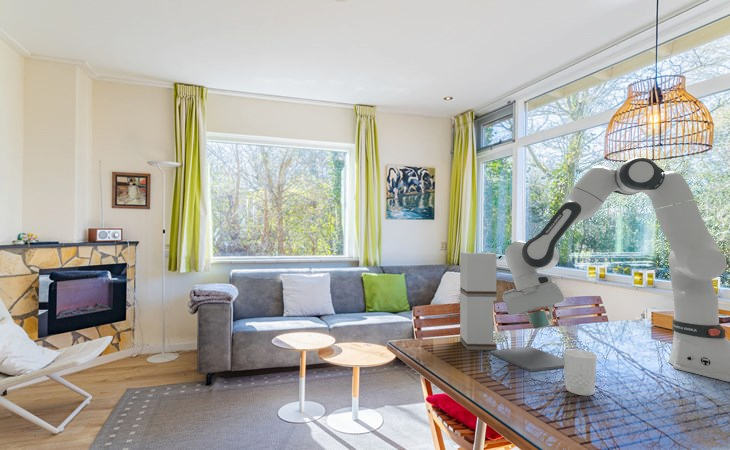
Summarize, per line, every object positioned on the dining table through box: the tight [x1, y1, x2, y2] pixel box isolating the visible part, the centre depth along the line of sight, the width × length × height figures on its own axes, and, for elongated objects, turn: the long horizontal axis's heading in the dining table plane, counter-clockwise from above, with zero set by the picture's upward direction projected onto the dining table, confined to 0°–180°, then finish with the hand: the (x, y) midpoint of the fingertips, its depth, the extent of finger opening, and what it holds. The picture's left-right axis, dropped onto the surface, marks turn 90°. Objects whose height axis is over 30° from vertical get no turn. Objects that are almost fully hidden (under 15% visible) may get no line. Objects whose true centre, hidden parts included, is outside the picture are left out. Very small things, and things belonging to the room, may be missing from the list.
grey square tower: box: [459, 251, 498, 351], centre depth 150 cm, size 11×11×35 cm
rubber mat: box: [489, 346, 564, 373], centre depth 133 cm, size 20×18×1 cm
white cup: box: [562, 348, 597, 396], centre depth 106 cm, size 8×8×10 cm
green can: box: [528, 309, 555, 330], centre depth 142 cm, size 5×5×12 cm
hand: (541, 321), depth 141 cm, fingers closed on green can, 5 cm apart
